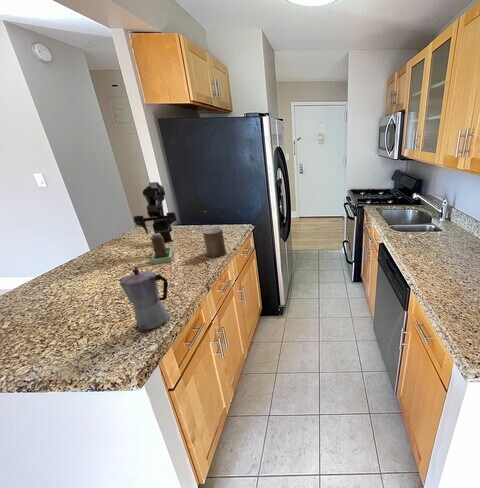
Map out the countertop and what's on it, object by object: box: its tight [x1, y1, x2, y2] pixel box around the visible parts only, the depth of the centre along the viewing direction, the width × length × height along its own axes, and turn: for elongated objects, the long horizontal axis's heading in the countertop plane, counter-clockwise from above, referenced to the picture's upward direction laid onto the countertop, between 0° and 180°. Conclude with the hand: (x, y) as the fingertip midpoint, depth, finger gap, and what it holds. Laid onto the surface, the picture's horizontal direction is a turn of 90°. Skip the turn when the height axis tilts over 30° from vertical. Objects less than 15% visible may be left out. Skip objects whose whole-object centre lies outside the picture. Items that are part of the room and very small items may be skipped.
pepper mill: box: [150, 232, 168, 259], centre depth 131 cm, size 5×5×14 cm
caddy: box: [150, 246, 173, 265], centre depth 137 cm, size 16×8×3 cm, turn 28°
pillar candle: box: [202, 227, 227, 258], centre depth 139 cm, size 10×10×15 cm
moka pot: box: [117, 268, 169, 331], centre depth 85 cm, size 10×15×20 cm, turn 95°
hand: (157, 232), depth 136 cm, fingers open, 9 cm apart
